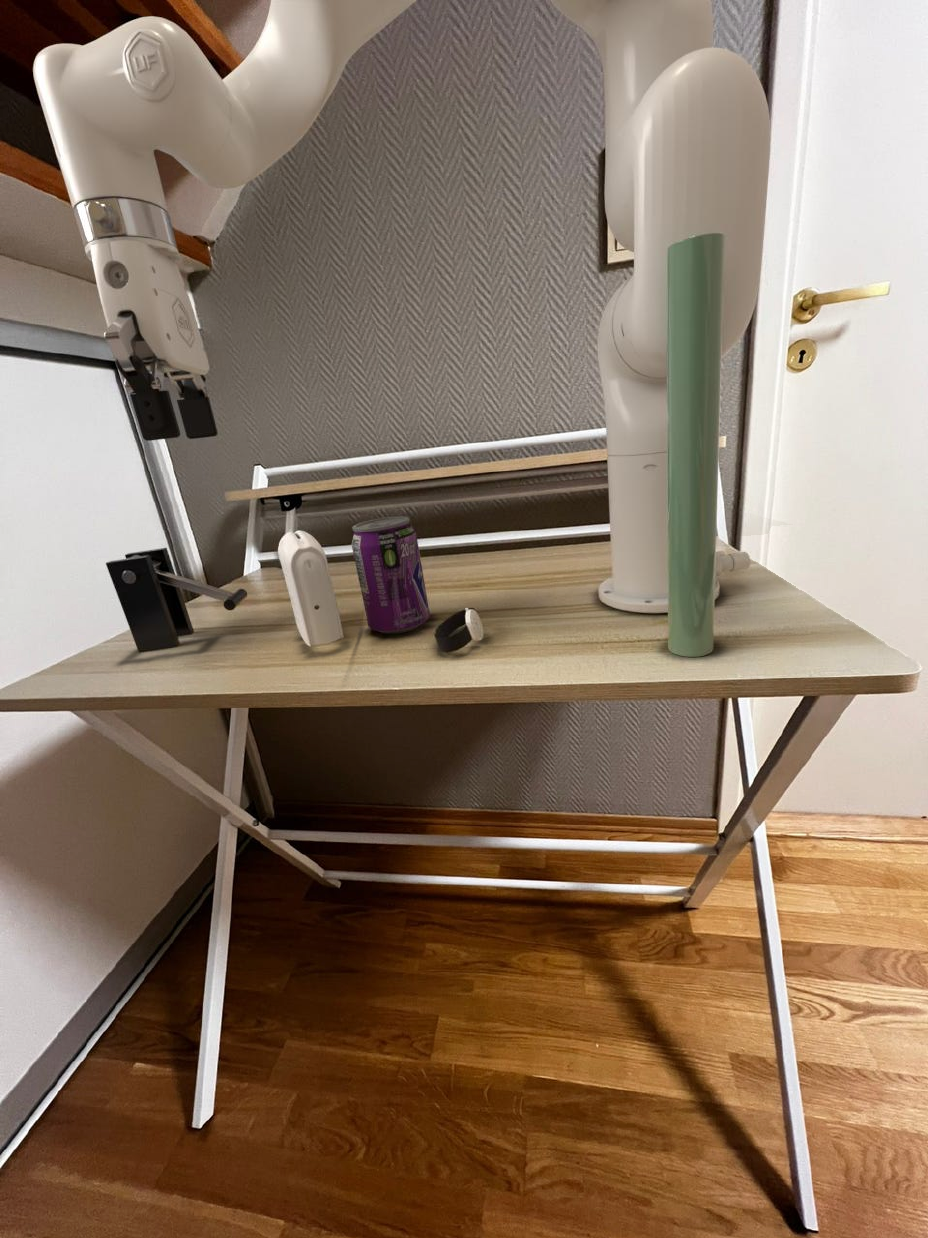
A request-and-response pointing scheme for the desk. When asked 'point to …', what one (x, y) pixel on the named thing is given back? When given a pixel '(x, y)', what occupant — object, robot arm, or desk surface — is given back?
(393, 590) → the beverage can
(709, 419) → the tall green cylinder
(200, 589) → the lever
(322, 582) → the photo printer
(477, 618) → the watch
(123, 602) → the bracket
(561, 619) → the desk surface
